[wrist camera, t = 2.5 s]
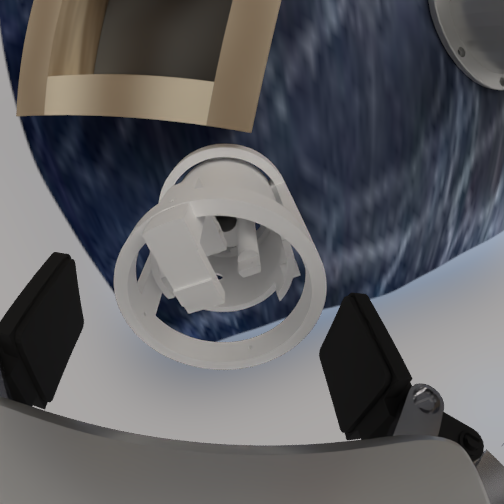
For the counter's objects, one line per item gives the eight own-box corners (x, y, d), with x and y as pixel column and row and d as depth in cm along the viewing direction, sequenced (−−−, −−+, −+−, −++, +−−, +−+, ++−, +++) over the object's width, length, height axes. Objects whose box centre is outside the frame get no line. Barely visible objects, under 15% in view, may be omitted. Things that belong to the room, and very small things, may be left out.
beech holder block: (283, -43, 13) (303, -88, 7) (246, 118, 20) (251, 132, 14) (107, -50, 12) (66, -84, 5) (73, 102, 18) (16, 116, 12)
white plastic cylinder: (257, 115, 20) (301, 174, 7) (288, 203, 23) (349, 362, 10) (163, 152, 21) (60, 269, 8) (202, 234, 24) (174, 405, 11)
